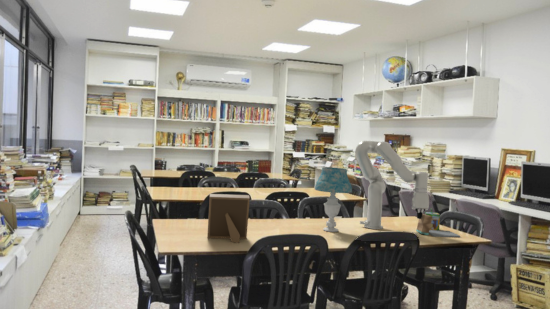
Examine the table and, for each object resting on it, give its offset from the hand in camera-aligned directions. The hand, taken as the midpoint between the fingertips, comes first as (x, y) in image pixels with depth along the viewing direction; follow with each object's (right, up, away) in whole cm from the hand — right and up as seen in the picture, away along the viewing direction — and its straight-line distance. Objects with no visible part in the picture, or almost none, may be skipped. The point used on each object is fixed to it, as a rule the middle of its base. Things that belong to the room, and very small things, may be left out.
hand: (419, 218), depth 304 cm
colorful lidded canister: (+14, -10, +17) cm, 24 cm away
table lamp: (-59, -7, -5) cm, 59 cm away
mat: (+15, -11, +2) cm, 19 cm away
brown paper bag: (+2, -10, +1) cm, 10 cm away
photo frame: (-121, -6, -47) cm, 130 cm away
